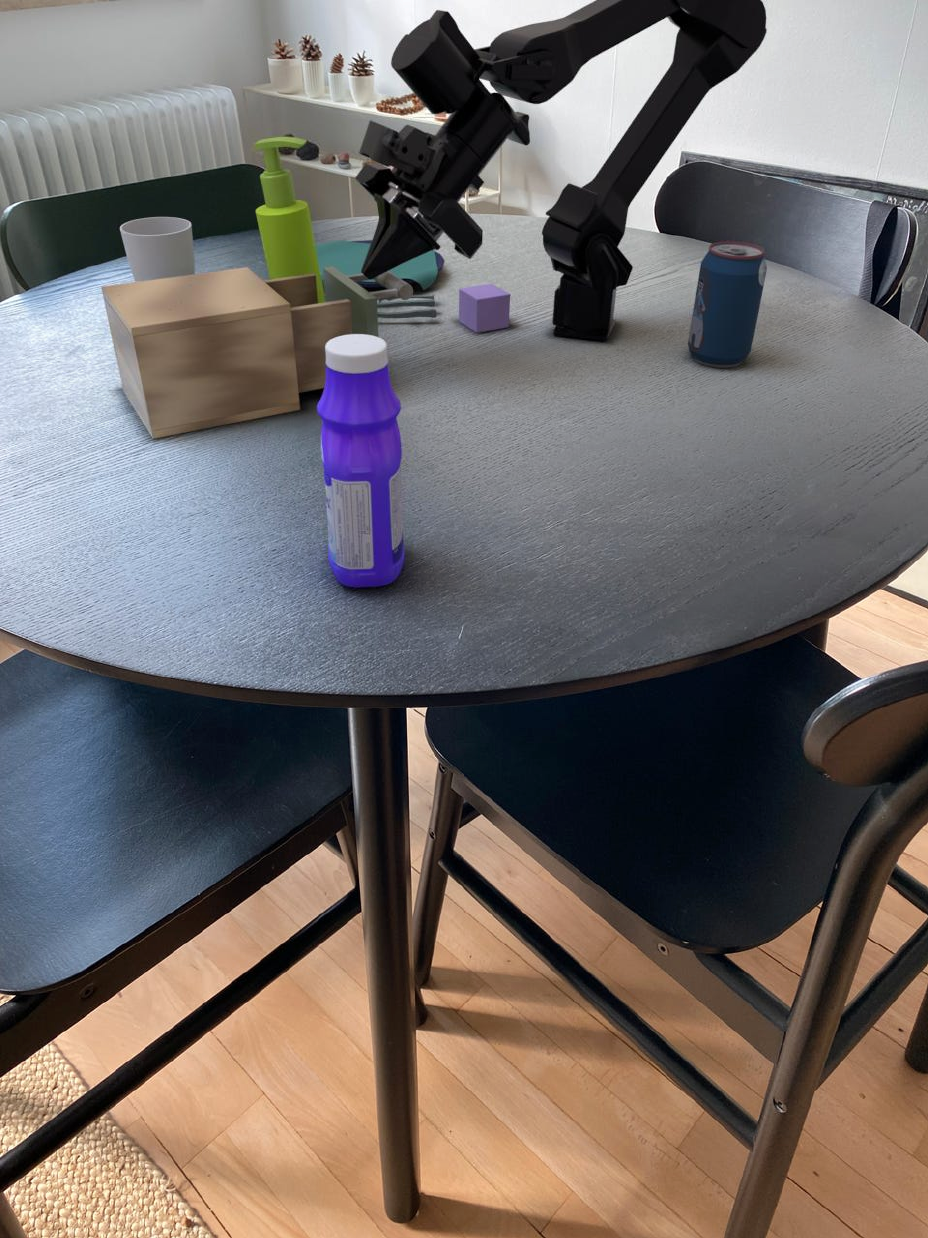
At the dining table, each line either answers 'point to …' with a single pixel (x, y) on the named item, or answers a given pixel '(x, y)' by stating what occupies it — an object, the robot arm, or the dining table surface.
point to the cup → (159, 247)
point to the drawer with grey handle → (330, 315)
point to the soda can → (727, 303)
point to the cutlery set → (419, 269)
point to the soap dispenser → (285, 219)
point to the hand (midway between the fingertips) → (365, 275)
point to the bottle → (361, 462)
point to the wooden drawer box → (203, 350)
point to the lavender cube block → (484, 308)
